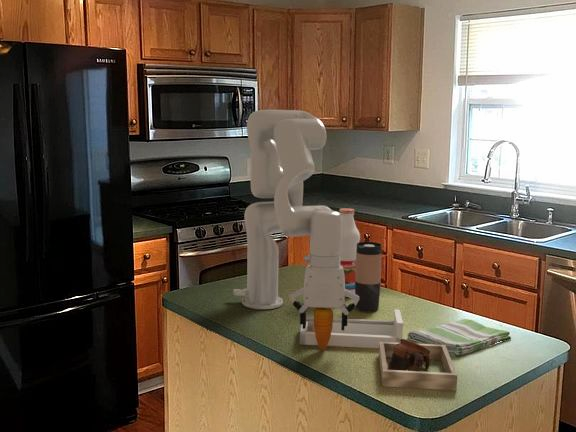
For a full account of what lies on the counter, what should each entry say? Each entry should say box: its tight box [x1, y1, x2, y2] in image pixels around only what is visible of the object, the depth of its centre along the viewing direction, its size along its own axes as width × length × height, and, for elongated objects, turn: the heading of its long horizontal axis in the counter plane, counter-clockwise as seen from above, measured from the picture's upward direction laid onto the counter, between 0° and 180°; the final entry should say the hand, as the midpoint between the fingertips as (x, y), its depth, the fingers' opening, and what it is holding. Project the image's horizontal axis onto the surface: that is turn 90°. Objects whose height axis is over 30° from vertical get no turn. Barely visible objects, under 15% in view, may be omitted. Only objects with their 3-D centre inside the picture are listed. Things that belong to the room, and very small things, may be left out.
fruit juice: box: [338, 207, 361, 298], centre depth 208 cm, size 9×9×28 cm
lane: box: [299, 309, 404, 349], centre depth 169 cm, size 26×11×7 cm, turn 85°
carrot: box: [313, 308, 334, 352], centre depth 160 cm, size 5×5×15 cm
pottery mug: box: [387, 338, 431, 371], centre depth 149 cm, size 12×10×8 cm
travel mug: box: [354, 241, 383, 313], centre depth 194 cm, size 8×8×20 cm
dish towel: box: [407, 318, 512, 358], centre depth 171 cm, size 17×23×4 cm
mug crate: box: [378, 342, 458, 391], centre depth 149 cm, size 16×18×4 cm
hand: (323, 327), depth 160 cm, fingers open, 9 cm apart
